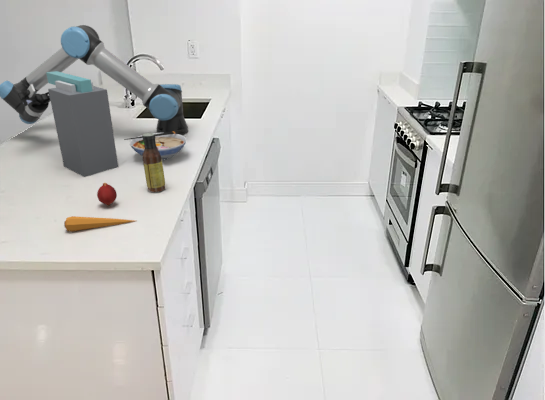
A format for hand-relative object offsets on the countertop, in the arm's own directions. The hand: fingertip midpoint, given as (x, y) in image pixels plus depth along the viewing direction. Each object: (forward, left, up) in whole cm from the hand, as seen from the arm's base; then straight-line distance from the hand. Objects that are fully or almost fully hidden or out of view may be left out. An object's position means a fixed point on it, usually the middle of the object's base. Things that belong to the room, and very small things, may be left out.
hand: (50, 85), depth 171 cm
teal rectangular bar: (-11, +10, +1) cm, 15 cm away
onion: (-31, +49, -29) cm, 65 cm away
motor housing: (-15, +14, -29) cm, 35 cm away
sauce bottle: (-44, +37, -29) cm, 65 cm away
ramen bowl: (-40, +4, -29) cm, 50 cm away
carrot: (-33, +64, -29) cm, 77 cm away
